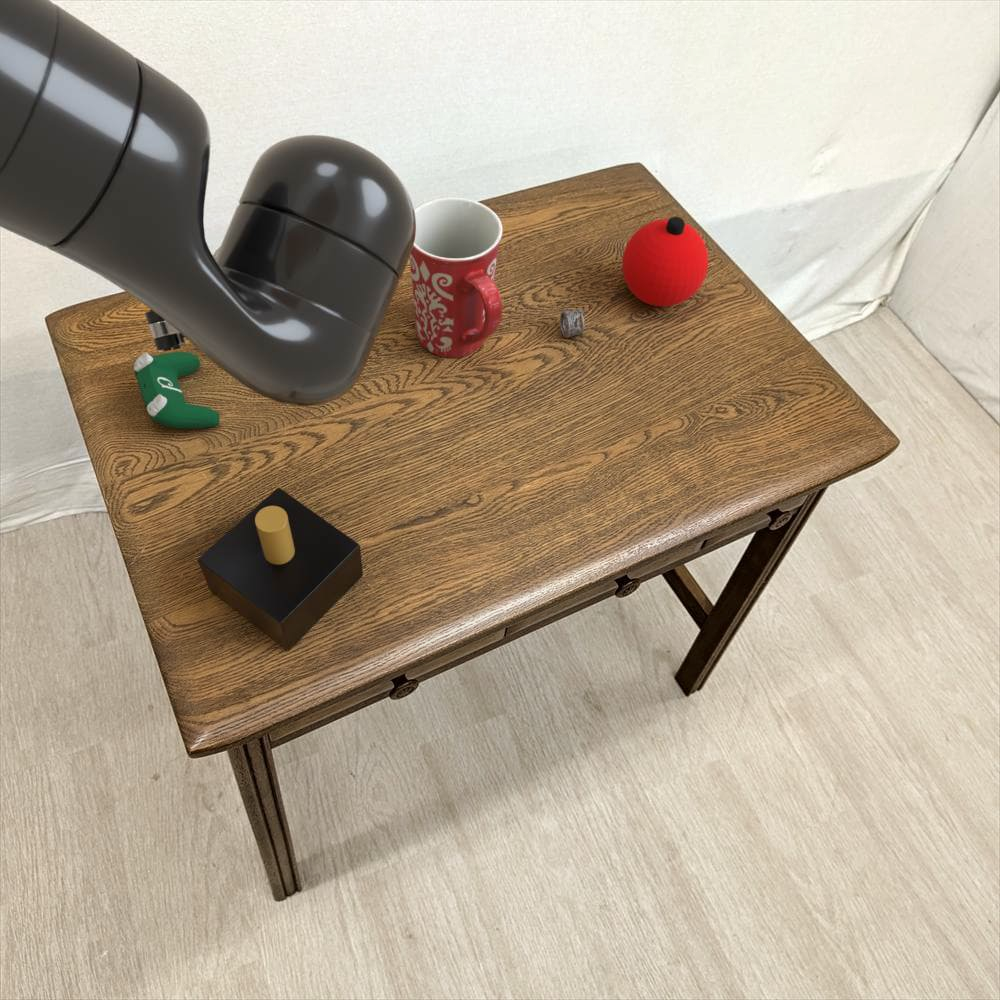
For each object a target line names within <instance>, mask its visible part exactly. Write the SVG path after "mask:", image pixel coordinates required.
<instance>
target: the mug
mask: <svg viewBox="0 0 1000 1000" xmlns="http://www.w3.org/2000/svg"><path fill="white" fill-rule="evenodd" d="M414 211H415V219H416V235H415V241H414V245H413V248H412V252H411V255H410V257H409V268H410V276H411V286H412V297H413V298H412V299H413V309H414V321H415V332H416V337H417V340H418V342H419V344H420V345H421V346H422V347H423V348H424V349H426V350H427V351H428V352H430V353H431V354H434V355H436V356H439V357H443V358H452V359H453V358H462V357H466V356H469V355H471V354H473V353H475V352H476V351H478V350H479V349H481V346H483V345H484V343H485V341H486V339H487V338H489V337H491V336H492V335H493V334H494V333H495V332H496V331H497V330H498V329H499V326H500V325H501V321H502V319H503V318H502V316H503V300H502V296H501V293H500V290H499V288H498V286H497V285H496V283H495V276H496V269H497V262H498V255H499V247H500V243H501V240H502V239H503V233H504V228H503V223H502V221H501V219H500V217H499V215H497V214H496V212H495V211H494V210H492V208H490V207H488V206H487V205H485V204H484V203H481V202H478V201H476V200H473V199H470V198H464V197H455V196H453V197H450V196H448V197H447V196H446V197H439V198H434V199H430V200H428V201H426V202H424V203H421V204H420V205H417V207H415V208H414Z"/></svg>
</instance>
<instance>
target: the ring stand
mask: <svg viewBox="0 0 1000 1000" xmlns="http://www.w3.org/2000/svg"><path fill="white" fill-rule="evenodd" d="M196 560H197V563H198V565H199V567H200V570H201V572H202V575H203V577H204V581H205V582H206V585H207V588H208V590H209V591H211V593H213V594H214V595H215V596H216V597H218V598H219V599H221V600H222V601H223V602H224V603H226V604H227V605H228V606H229V607H230V608H232V609H233V610H235V611H236V612H237V613H238V614H239V615H241V616H242V617H244V618H245V619H246V620H247V621H248V622H250V623H251V624H252V625H254V626H255V627H257V629H259V630H260V631H262V632H263V633H265V634H266V635H267V636H268V637H269V638H271V639H272V640H273V641H275V642H276V643H277V644H278V645H280V646H281V647H282V648H284V649H285V650H286V651H287V652H289V651H291V650H292V649H293V647H295V645H297V644H298V643H299V642H300V641H301V639H303V637H305V635H306V634H307V633H309V631H310V630H311V629H312V628H313V627H314V626H315V625H316V624H317V623H318V622H319V621H321V619H322V618H323V617H324V616H325V615H326V614H327V613H328V612H329V611H330V610H332V608H333V607H334V606H335V605H336V604H338V602H339V601H340V600H341V599H342V598H343V596H345V595H346V594H347V593H348V591H349V590H351V588H353V586H355V585H356V583H358V582H359V580H360V579H361V578H362V577H363V576H364V569H363V561H362V560H363V559H362V552H361V544H359V542H357V541H356V540H354V539H353V538H351V537H350V536H348V535H347V534H345V533H344V532H342V531H341V530H340V529H338V528H337V527H335V526H334V525H333V524H331V522H328V521H327V520H325V519H324V518H323V517H321V516H320V515H319V514H317V513H316V512H315V511H313V510H311V508H309V507H307V506H306V505H305V504H304V503H302V502H300V501H299V500H298V499H296V497H295V498H294V497H293V496H292V495H290V494H289V493H288V492H286V491H285V490H283V489H282V488H281V487H279V486H278V487H277V488H276V489H275V490H274V491H272V492H271V493H270V494H268V496H267V497H265V498H264V499H263V500H262V501H261V502H260V503H259V504H258V505H257V506H255V507H254V508H253V509H252V510H251V511H250V512H248V514H247V515H245V516H244V517H243V518H242V519H241V520H240V521H238V522H237V523H236V524H235V525H234V526H233V527H232V528H231V529H229V531H227V532H226V533H225V534H224V535H222V536H221V537H220V538H219V539H218V540H217V541H215V543H213V545H212V546H210V547H209V548H208V549H207V550H205V552H204V553H202V554H201V555H200V556H199V557H198V558H197V559H196Z"/></svg>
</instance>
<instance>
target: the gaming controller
mask: <svg viewBox="0 0 1000 1000" xmlns="http://www.w3.org/2000/svg"><path fill="white" fill-rule="evenodd" d="M200 366H201V360H200V358H199V357H198V356H197V355H195V354H194V353H192V352H188V351H173V352H172V351H171V352H165V353H160V354H149V353H148V352H146V351H145V352H143V353H142V355H140V356H139V357H138V358H137V359H136V361H135V362H134V365H133V372H134V376H135V378H136V380H137V384H138V389H139V392H140V394H141V397H142V401H143V402H144V405H145V410H146V412H147V415H148V416H149V418H150V419H151V420H152V421H154V422H156V423H158V424H159V425H160V426H162V427H165V428H166V427H169V428H174V429H187V430H191V429H192V430H194V429H207V428H212V427H217V426H220V417H221V416H220V415H221V414H220V412H218V411H217V410H214V409H212V408H210V407H208V406H204V405H199V404H194V403H188V402H186V399H185V397H184V394H183V390H182V388H181V385H180V383H179V380H178V379H179V378H181V377H184V376H187V375H190V374H193V373H194V372H195V371H197V370H198V369H199V368H200Z"/></svg>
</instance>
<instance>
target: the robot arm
mask: <svg viewBox="0 0 1000 1000" xmlns="http://www.w3.org/2000/svg"><path fill="white" fill-rule="evenodd" d="M211 143H212V142H211V132H210V125H209V122H208V119H207V117H206V114H205V112H204V111H203V108H201V106H200V105H199V103H198V102H197V101H196V99H194V97H193V96H191V94H190V93H188V92H187V91H185V90H184V89H183V88H182V87H181V86H179V85H178V83H175V82H174V81H173V80H171V79H170V78H168V77H167V76H166V75H164V74H163V73H161V72H159V71H158V70H156V69H155V68H153V67H152V66H150V65H149V64H148V63H146V62H144V61H143V60H141V59H140V58H138V57H136V56H134V54H132V53H131V52H129V51H127V50H126V49H125V48H123V47H121V46H120V45H119V44H117V43H116V42H113V41H112V40H111V39H109V38H107V37H106V36H105V35H103V34H102V33H101V32H99V31H97V30H96V29H94V28H93V27H91V26H89V25H88V24H86V23H85V22H84V21H83V20H80V19H79V18H77V17H76V16H74V15H73V14H72V13H69V12H68V11H66V10H65V9H63V8H62V7H61V6H60V5H57V4H56V3H53V2H52V1H51V0H0V228H3V229H4V230H6V231H9V232H11V233H13V234H15V235H17V236H19V237H22V238H24V239H26V240H28V241H31V242H33V243H35V244H37V245H39V246H42V247H45V248H47V249H48V250H50V251H53V252H54V253H56V254H58V255H60V256H62V257H65V258H67V259H69V260H70V261H72V262H75V263H77V264H78V265H81V266H82V267H84V268H86V269H88V270H90V271H92V272H94V273H96V274H97V275H99V276H100V277H102V278H104V279H106V280H107V281H108V282H110V283H112V284H113V285H115V286H117V287H118V288H119V289H121V290H123V291H124V292H126V293H128V295H130V296H132V297H133V298H134V299H136V300H137V301H139V303H141V304H143V305H144V306H146V307H147V308H148V309H149V311H147V312H146V311H145V312H144V315H145V318H146V321H147V324H148V328H149V331H150V333H151V336H152V339H153V341H154V345H155V348H156V351H163V352H167V351H171V350H173V351H175V350H180V349H181V347H182V346H185V345H186V341H185V339H187V340H188V341H189V342H190V343H192V345H193V346H195V347H196V348H197V349H198V350H199V351H201V352H202V353H203V354H204V355H205V356H206V357H208V358H209V360H211V361H212V362H213V363H215V364H216V366H218V367H219V368H220V369H221V370H223V371H224V372H225V373H227V374H228V375H230V376H231V377H232V378H234V379H235V380H237V381H238V382H239V383H241V384H242V385H243V386H245V388H248V389H250V390H251V391H253V392H255V393H257V394H258V395H260V396H262V397H265V398H267V399H270V400H272V401H274V402H277V403H280V404H285V405H288V406H295V407H312V406H319V405H325V404H327V403H330V402H333V401H335V400H338V399H339V398H341V397H343V396H344V395H346V394H348V393H349V392H350V391H351V390H352V389H353V388H354V386H356V384H357V382H358V381H359V379H360V377H361V375H362V374H363V371H364V369H365V367H366V364H367V363H368V360H369V358H370V355H371V353H372V350H373V348H374V345H375V343H376V338H377V337H378V336H379V333H380V330H381V328H382V325H383V323H384V321H385V318H386V315H387V313H388V312H389V308H390V306H391V303H392V301H393V299H394V296H395V294H396V292H397V289H398V286H399V283H400V279H402V277H403V275H404V272H405V269H406V268H407V265H408V263H409V261H410V258H409V257H410V255H411V252H412V248H413V245H414V241H415V235H416V219H415V211H414V209H415V208H414V204H413V201H412V199H411V196H410V194H409V192H408V190H407V188H406V186H405V185H404V183H403V181H402V180H401V179H400V178H399V176H398V175H397V174H396V173H395V172H394V170H393V169H392V168H391V167H390V166H388V164H387V163H385V161H383V160H382V158H380V157H379V156H377V155H376V154H375V153H373V152H371V151H370V150H368V149H366V148H364V147H362V146H360V145H358V144H356V143H355V142H352V141H349V140H346V139H342V138H340V137H334V136H331V135H323V134H304V135H297V136H292V137H288V138H284V139H283V140H280V141H278V142H275V143H274V144H272V145H270V146H269V147H268V148H267V149H266V150H264V151H263V152H262V153H261V155H260V156H259V157H258V159H257V160H256V161H255V163H254V165H253V167H252V169H251V172H250V174H249V176H248V179H247V181H246V183H245V184H244V185H245V186H244V188H243V190H242V193H241V195H240V198H239V199H238V205H237V206H236V207H235V210H234V212H233V215H232V217H231V220H230V222H229V225H228V227H227V229H226V232H225V234H224V238H223V240H222V242H221V245H220V246H219V247H218V248H217V249H216V250H215V251H214V252H213V253H212V252H211V249H210V248H209V245H208V242H207V241H206V240H207V239H206V233H205V222H204V221H205V220H204V218H205V217H204V216H205V201H206V194H207V186H208V179H209V172H210V160H211V148H212V147H211V146H212V144H211ZM184 338H185V339H184Z"/></svg>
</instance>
